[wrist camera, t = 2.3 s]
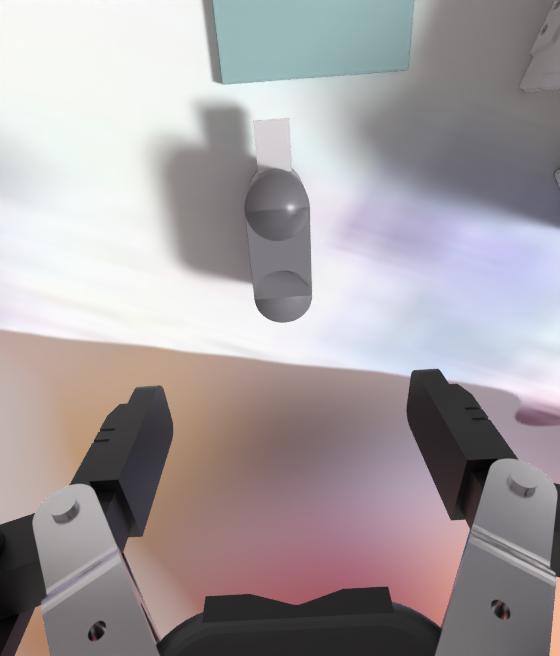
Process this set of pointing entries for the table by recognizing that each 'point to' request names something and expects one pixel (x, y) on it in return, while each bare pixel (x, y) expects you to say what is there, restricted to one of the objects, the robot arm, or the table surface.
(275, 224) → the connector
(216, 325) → the table surface
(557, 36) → the cassette
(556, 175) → the coffee box
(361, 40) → the teal rubber mat
